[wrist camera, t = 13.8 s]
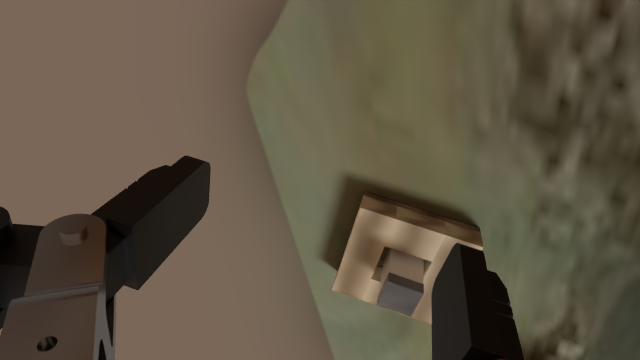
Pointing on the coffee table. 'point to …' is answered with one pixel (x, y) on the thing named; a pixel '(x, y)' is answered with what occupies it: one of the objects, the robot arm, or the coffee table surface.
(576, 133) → the coffee table surface
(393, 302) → the connector plug
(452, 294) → the robot arm
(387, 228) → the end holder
